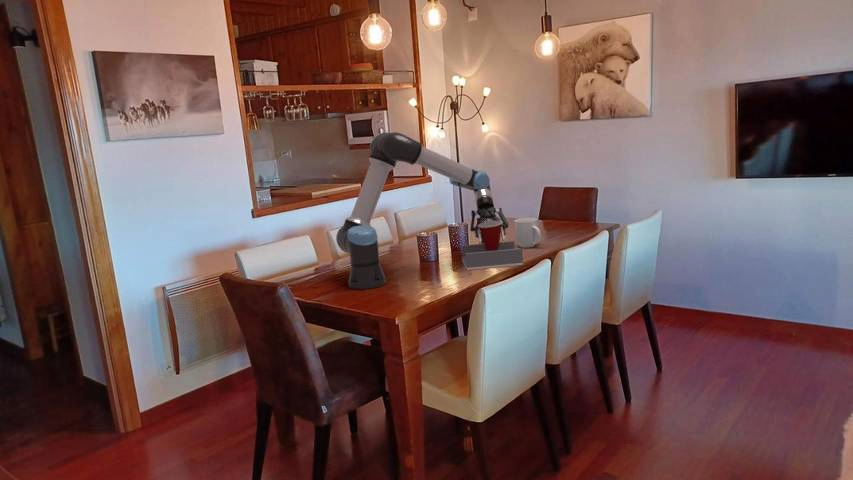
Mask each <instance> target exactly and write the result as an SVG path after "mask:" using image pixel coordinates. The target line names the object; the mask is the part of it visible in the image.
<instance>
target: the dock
mask: <svg viewBox="0 0 853 480" xmlns="http://www.w3.org/2000/svg"><path fill="white" fill-rule="evenodd" d="M515 244H516V243H515V240H508V241H506V240H505V242H504V243H503V242H502V241H500V242H499V249H498V250H495V251H487V250H486V249H485V246H484V243H481V245H480V244H479V243H476V244H461V257H462V258H461V260H462V263H463V265H464V267H465V269H466V271H472V270H481V269H482V270H483V269H484V268H485V269H494V268H503V267H504V268H505V267H515V266H523V265H524V257H523V255H524V254H523V248H522V247H520V248H516V245H515Z"/></svg>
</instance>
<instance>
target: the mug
mask: <svg viewBox="0 0 853 480" xmlns="http://www.w3.org/2000/svg"><path fill="white" fill-rule="evenodd" d="M514 234H515V239H516V242H517V244H518V246H519V247H520V248H522V249H529V248H533V247H535V245H536V244H538V243H540V242H541V240H542V233H541V230H540V228H539V225H538V219H537V218H532V217H525V218H524V217H523V218H522V217H521V218H516V219H515V220H514Z"/></svg>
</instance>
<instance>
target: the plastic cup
mask: <svg viewBox="0 0 853 480" xmlns="http://www.w3.org/2000/svg"><path fill="white" fill-rule="evenodd" d="M502 223H503V222H502V220H500V221H494V220H490V221H489V220H488V221H482V222H481V223H480V224H478V227H479V229H480V235H481V239H482V241H483V244H484V246H485V249H486V250H487V251H495V250H498V249H499V242H501V225H502Z"/></svg>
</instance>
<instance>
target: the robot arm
mask: <svg viewBox="0 0 853 480" xmlns="http://www.w3.org/2000/svg"><path fill="white" fill-rule="evenodd" d="M369 147H370V148H369V149H370V154H369V157H368V161H369V163H370V165H369V167H368V169H367V172H366V174H365V177H364V180H363V183H362V185H361V189H360V191H359V193H358V195H357V198H356V201H355V204H354V207H353V210H352V211H351V214H350V216H349V217H346V218H345V220H344V223H343V225H342V226H340V228H339V229H338V230H337V233H336V238H335V239H336V244H337V246H338V248H339V249H340V250H341V251H343V253H345V254H348V255H349V258H350V270H349V271H350V272H349V277H348V280H347V281H348V287H349V288H350V289H352V290H353V289H354V290H369V289H374V288H379V287H381V286H384V285H385V284H386V283H387V280H386V275H385V272H384V270H383V268H382V266H381V263H380V255H379V254H380V253H379V243H378V237H379V236H378V233H377V230H376V228H375V227H373V226H371V221H372V219H373V216H374V213H375V210H376V208H377V205H378V202H379V201H380V200H379V199H380V197H381V194H382V193H383V190H384V186H385V183H386V181H387V179H388V175H389V174H390V171H391V170H394V169H395V168H396V165H397V163H398V162H402V163H407V164H410V166H413V165H418V166H419V167H423V168H425V169H427V170H430V171H432V172H434V173H436V174H439V175H441V176H443V177H446V178H448V179H449V183H450V184H451V185H453V186H455V187H459V188H463V189H467V190H470V191H473V193H474V197H475V203H476V208H477V210H471V213H470V214H471V215H470V216H471V222H470V229H469V230H470V232H474V235H475V238H476V239H477V238H478V244H480V245H481V244H483V243H482V241H483V239H482V234H481V231H480V229H479V227H478V224H480V223H483V221H484V220H487V219H488V220H489V219H491V221H502V225H501V233H500V238H501V240H502V241H501V242H503V243H504V242H506V237H505V236H506V235H507V234H506V233H507V231H506V229H508V228H509V222H508V220H507V218H506V217H505V215H504V213H503V208H502V207H499V208H496V207H495V205H494V200H493V195H492V190H491V184H490V177H489V175H488V174H487V172H485V171H483V170H475V169H473V168H471V167H469V166H467V165H464V164H462V163H460V162H458V161H456V160H453V159H451V158H449V157H446V156H445V155H441V154H440V153H438V152H436V151H433V150H431V149H429V148H426V147H424V146H423V144H422V142H420V141H418V140H416V139H413V138H411V137H409V136H408V135H405V134H403V133H401V132H397V131H396V132H395V131H394V132H388V131H387V132H382V133H379V134H377V135H375V136H374V137H373V138H372V139H371V142H370V145H369ZM496 214H497V215H498V216H499V217H498V216H497V215H496ZM477 216H479V217H478V220H477V223H476V225H475V219H476V217H477ZM474 226H475V227H474Z"/></svg>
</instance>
